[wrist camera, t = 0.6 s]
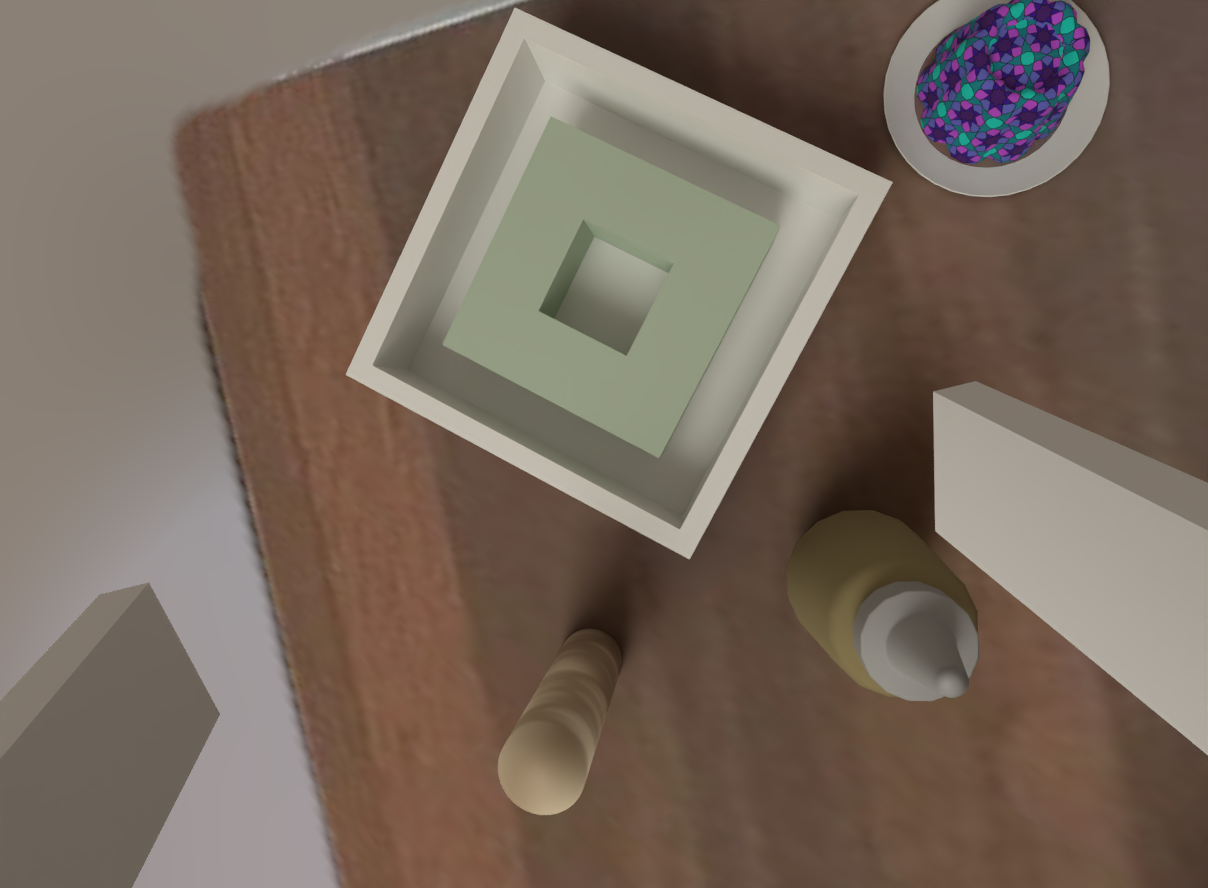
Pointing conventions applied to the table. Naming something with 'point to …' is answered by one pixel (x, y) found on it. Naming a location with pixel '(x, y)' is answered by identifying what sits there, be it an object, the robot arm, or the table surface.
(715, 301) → the bore plate
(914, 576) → the squeeze bottle
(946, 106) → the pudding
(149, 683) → the robot arm
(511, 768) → the peg
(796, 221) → the open box
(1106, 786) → the table surface
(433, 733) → the table surface
